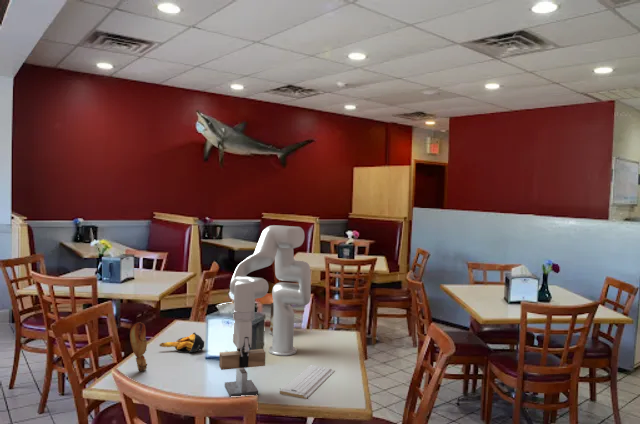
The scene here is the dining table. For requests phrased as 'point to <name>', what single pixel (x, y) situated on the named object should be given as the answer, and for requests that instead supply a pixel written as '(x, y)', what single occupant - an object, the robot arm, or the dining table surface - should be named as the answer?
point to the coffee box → (272, 319)
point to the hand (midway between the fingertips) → (242, 364)
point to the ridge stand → (241, 385)
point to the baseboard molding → (307, 382)
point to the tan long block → (232, 359)
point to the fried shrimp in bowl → (186, 344)
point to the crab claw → (139, 344)
